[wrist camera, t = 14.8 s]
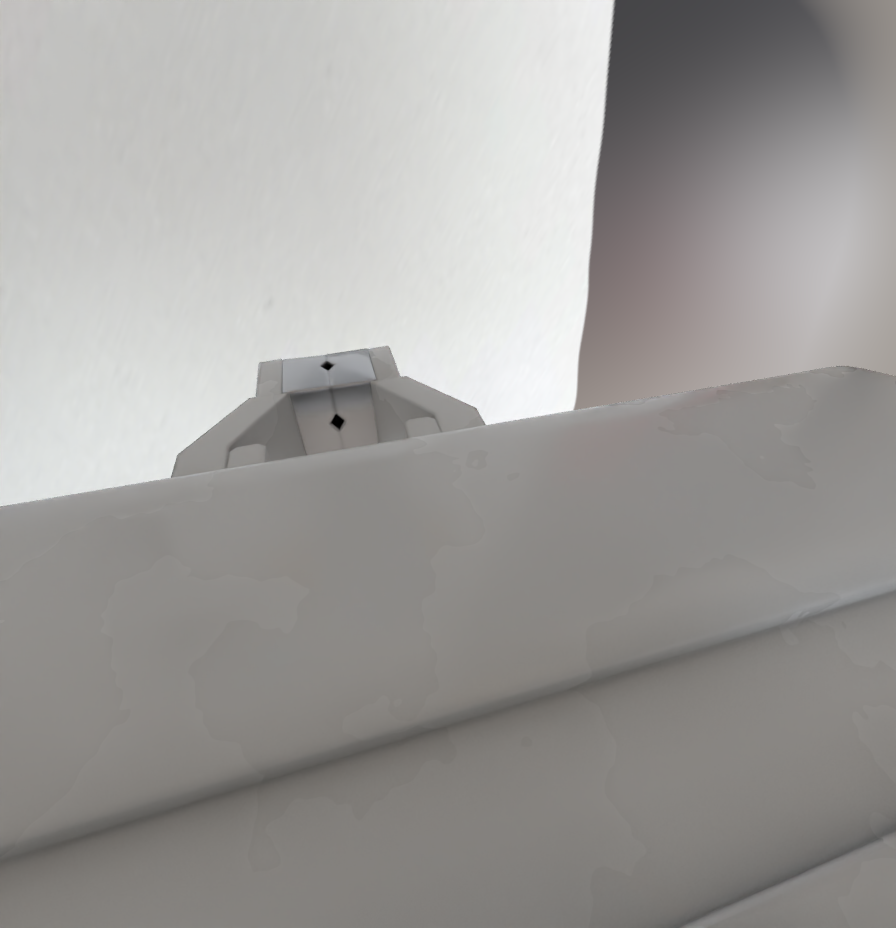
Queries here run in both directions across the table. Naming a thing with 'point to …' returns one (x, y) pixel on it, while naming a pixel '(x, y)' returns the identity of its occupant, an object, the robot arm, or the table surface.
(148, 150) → the table surface
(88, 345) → the table surface
